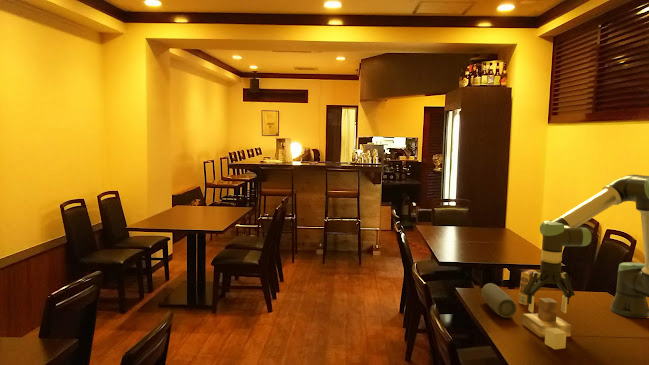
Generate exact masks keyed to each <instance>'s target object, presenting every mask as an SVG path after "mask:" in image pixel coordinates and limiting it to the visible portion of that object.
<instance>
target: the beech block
mask: <svg viewBox="0 0 649 365" xmlns="http://www.w3.org/2000/svg"><path fill="white" fill-rule="evenodd" d="M522 325H523V326H524V327H525V328H527V329H528V330H530V332H532V333H534V334H535V335H537V336H538V337H539V338H545V332H546V329H548V328H558V329H560V330H562V331H564V332H566V337H571V334H572V325H571V324H570V323H568V322H567V321H565V320H564V319H562V318H560V317H558V316H556V322H544V321H543V320H541V319H540V318H539V317H538V313H522Z"/></svg>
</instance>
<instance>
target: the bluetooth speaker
mask: <svg viewBox="0 0 649 365" xmlns="http://www.w3.org/2000/svg"><path fill="white" fill-rule="evenodd" d="M480 292H481V295H482V297H483V299H484V300H485V302H486V303H487V305H488V306H489V307H490V308H491V310H492V311H493V312H494V313H495V314H496V315H497V316H500V317H503V318H508V319H509V318H512V317H513V316H515V315H516V312H517V309H518V308H517V305H516V302H515V301H514V300H513V298H511V296H510V295H509V294H508V293H507V292H505V290H503V289H502V288H501V287H500V286H498V285H496V284H495V283H492V282H489V283H486V284H484V285H483V287H482V288H481V290H480Z"/></svg>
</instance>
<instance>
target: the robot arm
mask: <svg viewBox="0 0 649 365" xmlns="http://www.w3.org/2000/svg"><path fill="white" fill-rule="evenodd" d="M625 202H635V209H636V211H638V212H639V213H640V218H641V219H640V220H641V233H642V241H643V242H642V243H643V252H644V263H643V262H621V263H619V265H618V270H617V280H616V292H615V296H614V298H613V299H612V302H611V303H610V311H612V312H613V313H615V314H617V315H620V316H624V317H627V318H628V317H629V318H633V319H634V318H635V319H646V318H647V319H648V318H649V304H648V300H647V298H649V175H641V174H627V175H625V176H622V177H619V178H617V179H615V180H613V181H611V182H609V183H608V184H606V185H604V186H603V187H602V189H601V191H599V192H598V193H596V194H595V195H593V196H591V197H589V198H588V199H586V200H585V201H583V202H581V203H579V204H578V205H576V206H575V207H573V208H571V209H570V210H568V211H567V212H565V213H564V214H562V215H560V216H559V217H557V218H555V219H553V220H551V219H550V220H548V219H547V220H544V221H543V222H541V224H540V225H539V232H540V234H541V235H542V240H541V242H542V243H541V256H540V258H541V260H540V266H539V268H540V271H539V272H538V271H537V272H535V271H536V270H535V271H533V272H532V277H531V278H530V280H529V282H528V283H527V285H526V287H525V289H524V290H523V293H524V294H526V295H527V303H528V311H529V312H530V314H534V310H535V309H534V308H535V307H534V306H535V295H534V294H536V293H537V292H538V291H539V290H540V288H542V287H543V286H544V285H545V284H546V285H551V284H552V285H554V284H556V285H557V287H558V289H560V291H561V292H562V294H563V295H562V296H561V304H560V305H561V306H560V307H561V308H560V312H562V313H563V314H567V307H568V305H569V304H570V299H571V298H572V297H574V296H575V295H576V294H575V292H574V289H573V287H572V284H571V281H570V279H569V274H568V273H567V272H565V271H562V261H563V260H562V259H563V248H564V247H586V246H588V245H590V243H591V242H592V233H591V231H590V230H589V229H588V228H587V227H582V225H584V224H585V223H586V222H588V221H589V220H591V219H593V218H594V217H596V216H598V215H599V214H601V213H603V212H605V211H606V210H608V209H609V208H610V207H612V206H614V205H615V206H619V205H620V204H622V203H625ZM561 271H562V272H561ZM560 278H562V281H563V283H564V285H565V286H564V285H563V284H562V282H561V281H560ZM535 282H536V284H535ZM534 284H535V285H534ZM533 285H534V286H533ZM565 287H566V288H565ZM533 295H534V296H533Z"/></svg>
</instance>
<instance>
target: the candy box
mask: <svg viewBox="0 0 649 365" xmlns="http://www.w3.org/2000/svg"><path fill="white" fill-rule="evenodd" d="M533 271H535V272H537V273H538V271H537V270H534V269H526V270H524V271H522V272H521V274H520V280H519V281H520V284H519V293H518V304H520V305H523V306H529V304H528V303H527V295H526V294H524V293H523V290H524V289H525V287H526V285H527V283H528V282H529V280H530V278H531V277H532V272H533ZM536 283H537V281H536V282H535V284H536ZM535 284H534V285H535ZM534 285H533V286H534ZM535 294H536V293H535ZM535 294H534V295H533V296H534V297H535Z"/></svg>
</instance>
